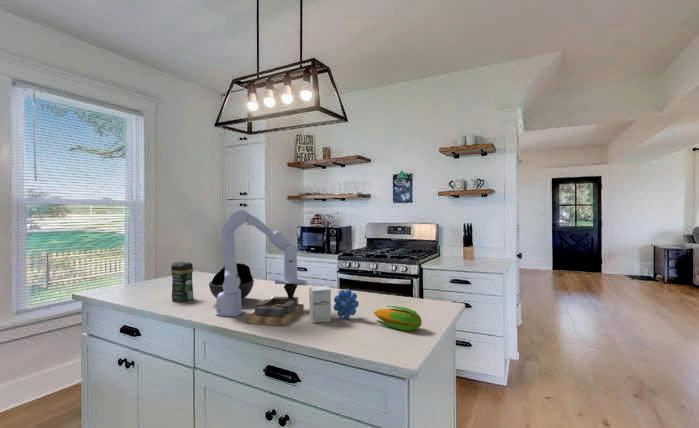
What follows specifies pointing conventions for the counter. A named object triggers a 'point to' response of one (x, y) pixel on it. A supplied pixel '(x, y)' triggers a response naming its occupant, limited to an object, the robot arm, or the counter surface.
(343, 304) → the grapes
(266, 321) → the wooden board with bars
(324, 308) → the supplement box
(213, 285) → the coal bowl
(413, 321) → the corn
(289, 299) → the hinged leg
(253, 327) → the counter surface
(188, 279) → the coffee jar
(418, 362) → the counter surface
